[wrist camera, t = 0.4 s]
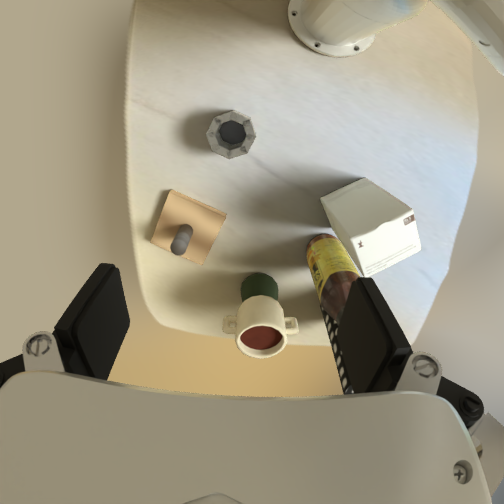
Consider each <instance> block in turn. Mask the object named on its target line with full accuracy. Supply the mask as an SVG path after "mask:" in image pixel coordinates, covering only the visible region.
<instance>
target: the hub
mask: <svg viewBox="0 0 504 504" xmlns="http://www.w3.org/2000/svg"><path fill="white" fill-rule="evenodd" d="M230 120H233V121H235V122H238V123H240V124H242V125H243V126H244V129H245V132H246V136H245V138H244V140H243V142H240V143H237V144H234V145H231V144H229V143H227V142H224V141H222V138H221V135H220V132H219V130H220V128H221V126H222V124H223V123H224V122H227V121H230ZM206 136H207V138H208V141H209V144H210V147H211V149H212V152H215V153H217V154H219V155H221V156H224V157H226V158H228V159H231V158H234V157H237V156H241V155H244V154H247V153H248V151H249V149H250V147H251V145H252V143H253V142H254V140H255V138H256V133H255V130H254V127H253V124H252V121H251V118H250V117H248V116H246V115H244V114H242V113H240V112H237V111H235V110H234V111H231V112H228V113H225V114H222V115H219V116H216V117H214V119H213V121H212V123H211V125H210V127H209V129H208V131H207V133H206Z"/></svg>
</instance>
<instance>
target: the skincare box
mask: <svg viewBox="0 0 504 504" xmlns="http://www.w3.org/2000/svg"><path fill="white" fill-rule="evenodd" d="M320 200H321V203H322V205H323V208H324V210H325V212H326V215H327V217H328V220H329V222H330V224H331V227H332V229H333V231H334V232H335V234H336V235H337V237H338V238H339V240H340V241H341V243H342V244H343V246H344V247H345V249H346V250H347V252H348V253H349V255H350V256H351V258H352V259H353V261H354V262H355V264H356V265H357V267H358V268H359V270H360V272H361V273H362V275H363V276H364V277H369V276H372V275H374V274H376V273H378V272H380V271H382V270H384V269H386V268H388V267H389V266H391V265H393V264H395V263H397V262H399V261H401V260H403V259H405V258H407V257H409V256H411V255H413V254H415V253H417V252H419V251H420V250H421V245H420V240H419V235H418V231H417V226H416V222H415V217H414V213H413V209H412V208H410V207H409V206H408V205H406V204H405V203H403V202H402V201H400V200H399V199H397V198H396V197H394V196H393V195H391V194H390V193H388V192H387V191H385V190H384V189H382V188H381V187H379V186H378V185H376V184H375V183H373V182H372V181H370V180H368V179H367V178H362V179H360V180H358V181H356V182H354V183H351V184H349V185H347V186H345V187H342V188H340V189H338V190H336V191H334V192H332V193H330V194H328V195H326V196H323V197H321V198H320Z"/></svg>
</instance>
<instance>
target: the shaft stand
mask: <svg viewBox="0 0 504 504" xmlns="http://www.w3.org/2000/svg"><path fill="white" fill-rule="evenodd" d="M225 219H226V214H225V213H223V212H221V211H219V210H216V209H214V208H212V207H210V206H208V205H205V204H203V203H201V202H199V201H197V200H194V199H192V198H190V197H188V196H185V195H183V194H181V193H179V192H176V191H174V190H171V191H170V192H169V194H168V197H167V199H166V202H165V204H164V207H163V210H162V212H161V215H160V218H159V220H158V223H157V226H156V228H155V231H154V234H153V237H152V239H151V242H150V243H152V244H155V245H157V246H159V247H161V248H164V249H166V250H168V251H170V252H172V253H173V254H175V255H179V256H182V257H184V258H186V259H189V260H191V261H193V262H195V263H198V264H200V265H203V263H204V260H205V258H206V256H207V254H208V252H209V250H210V248H211V246H212V244H213V242H214V240H215V238H216V236H217V234H218V232H219V230H220V228H221V226H222V224H223V222H224V220H225Z"/></svg>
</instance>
